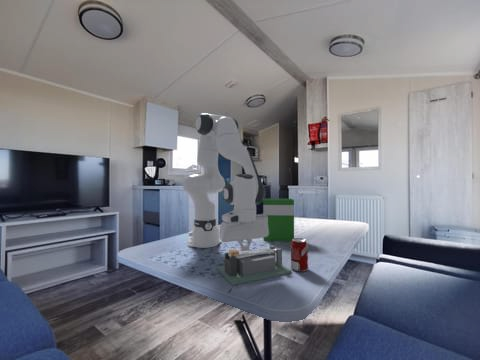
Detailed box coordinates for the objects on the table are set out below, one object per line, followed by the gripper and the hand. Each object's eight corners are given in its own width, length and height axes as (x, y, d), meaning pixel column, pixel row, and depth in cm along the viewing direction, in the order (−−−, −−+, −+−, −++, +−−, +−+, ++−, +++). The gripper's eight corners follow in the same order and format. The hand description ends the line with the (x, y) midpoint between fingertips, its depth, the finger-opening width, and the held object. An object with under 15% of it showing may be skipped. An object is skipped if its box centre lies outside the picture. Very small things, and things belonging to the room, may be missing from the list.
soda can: (297, 273, 93) (297, 242, 92) (287, 267, 99) (287, 238, 99) (311, 270, 95) (311, 240, 95) (300, 265, 102) (300, 236, 101)
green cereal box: (263, 240, 141) (263, 199, 140) (263, 237, 148) (263, 198, 148) (294, 241, 139) (294, 199, 138) (292, 238, 146) (292, 198, 146)
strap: (227, 255, 93) (227, 250, 93) (274, 250, 102) (275, 246, 102) (230, 257, 90) (231, 252, 90) (279, 253, 99) (279, 248, 99)
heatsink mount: (217, 269, 98) (217, 249, 97) (269, 259, 108) (269, 242, 108) (232, 285, 83) (232, 262, 83) (291, 272, 94) (291, 252, 94)
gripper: (263, 212, 101) (263, 245, 101) (217, 216, 92) (218, 251, 93) (271, 214, 95) (271, 249, 96) (223, 218, 87) (224, 256, 87)
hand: (245, 250), depth 94 cm, fingers closed
